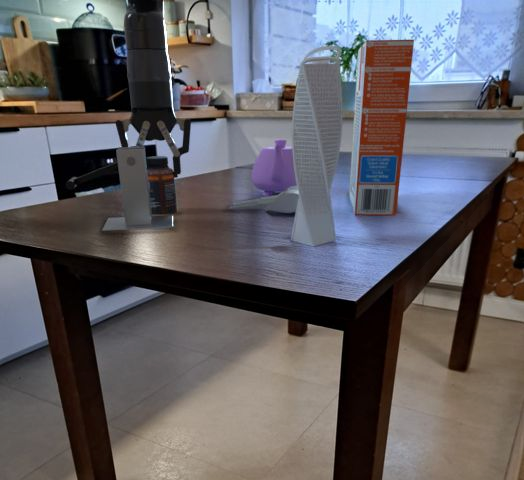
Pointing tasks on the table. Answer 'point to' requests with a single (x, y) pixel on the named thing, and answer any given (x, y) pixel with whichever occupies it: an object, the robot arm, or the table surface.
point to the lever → (90, 176)
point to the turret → (272, 202)
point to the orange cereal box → (379, 125)
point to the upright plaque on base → (135, 194)
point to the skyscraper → (316, 145)
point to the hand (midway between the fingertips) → (158, 177)
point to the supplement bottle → (161, 186)
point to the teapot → (274, 169)
